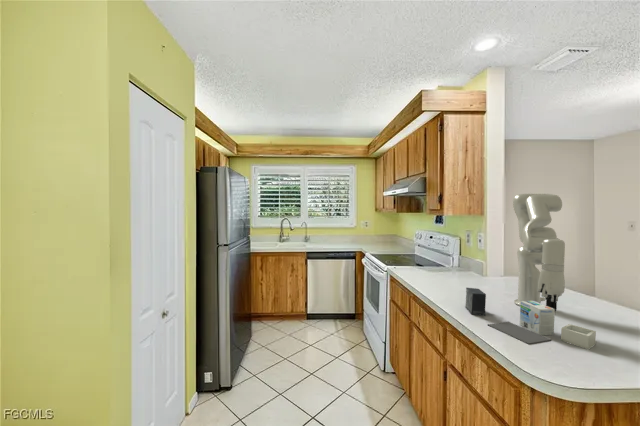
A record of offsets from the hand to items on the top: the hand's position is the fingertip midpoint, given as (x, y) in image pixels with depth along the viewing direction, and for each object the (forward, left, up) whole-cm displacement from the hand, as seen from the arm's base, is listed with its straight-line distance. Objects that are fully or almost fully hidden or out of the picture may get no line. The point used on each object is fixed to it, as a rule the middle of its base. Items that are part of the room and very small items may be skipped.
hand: (551, 309), depth 124 cm
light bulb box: (+8, 0, -8) cm, 12 cm away
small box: (+16, -24, -8) cm, 30 cm away
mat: (+19, 0, -8) cm, 21 cm away
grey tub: (+4, +13, -8) cm, 16 cm away
